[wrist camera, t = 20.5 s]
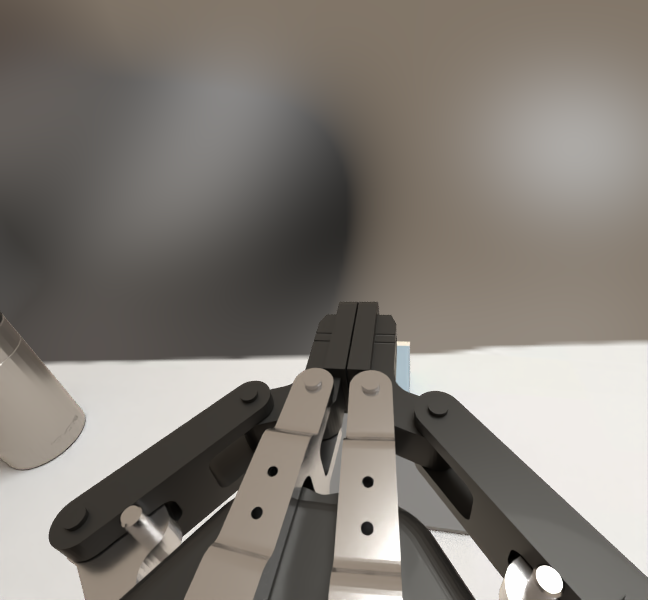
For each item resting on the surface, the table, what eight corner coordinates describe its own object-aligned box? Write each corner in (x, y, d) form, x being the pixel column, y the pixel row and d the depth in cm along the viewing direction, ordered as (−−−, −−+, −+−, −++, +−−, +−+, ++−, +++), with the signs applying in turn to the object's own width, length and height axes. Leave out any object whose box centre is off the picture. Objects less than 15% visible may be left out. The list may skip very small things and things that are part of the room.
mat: (316, 514, 36) (315, 511, 36) (335, 410, 45) (334, 407, 45) (469, 534, 33) (470, 531, 32) (456, 419, 42) (456, 415, 42)
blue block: (369, 414, 38) (377, 341, 48) (371, 439, 40) (379, 364, 50) (409, 417, 37) (409, 341, 47) (409, 442, 40) (409, 365, 49)
